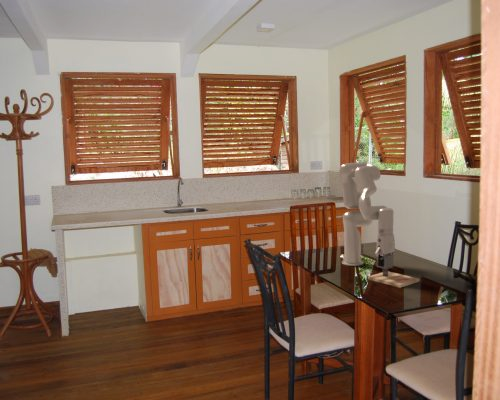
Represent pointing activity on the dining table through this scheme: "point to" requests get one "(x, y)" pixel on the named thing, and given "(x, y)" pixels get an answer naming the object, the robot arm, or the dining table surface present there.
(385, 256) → the gray cube
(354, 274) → the dining table surface
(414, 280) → the board
